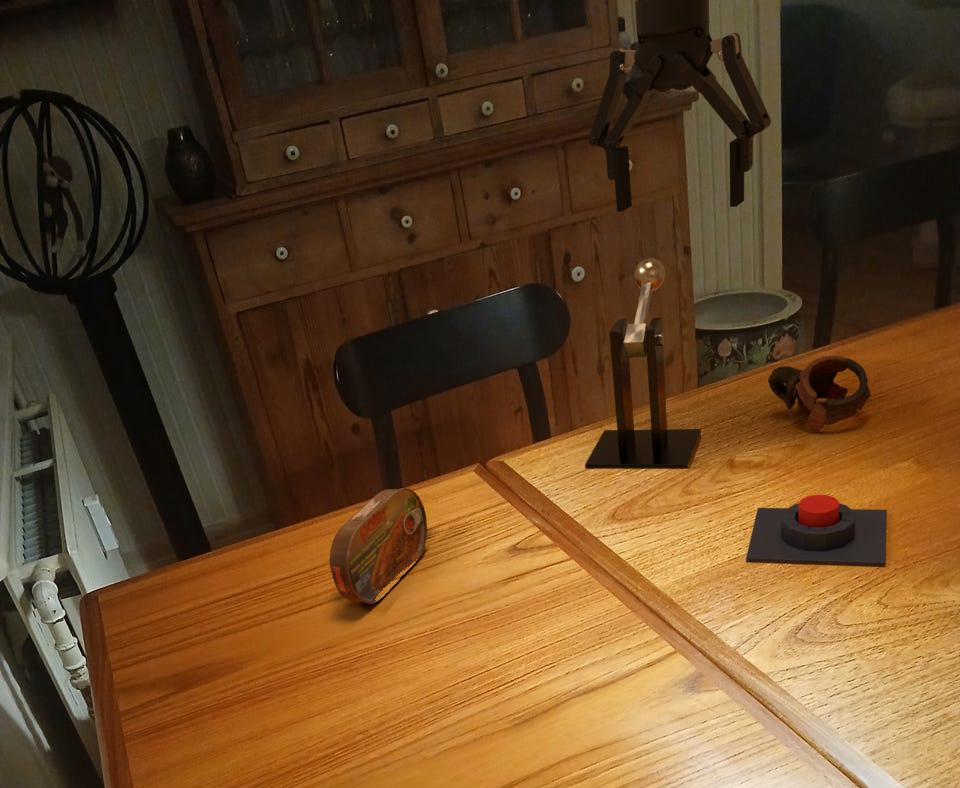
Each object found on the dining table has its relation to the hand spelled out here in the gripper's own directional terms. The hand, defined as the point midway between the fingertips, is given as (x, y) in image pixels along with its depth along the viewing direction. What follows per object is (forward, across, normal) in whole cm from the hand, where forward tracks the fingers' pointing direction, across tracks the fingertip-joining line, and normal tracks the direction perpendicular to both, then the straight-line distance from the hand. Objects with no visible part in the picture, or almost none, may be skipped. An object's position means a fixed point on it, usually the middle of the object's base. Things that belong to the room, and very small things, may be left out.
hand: (679, 206), depth 113 cm
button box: (+25, +24, -32) cm, 47 cm away
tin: (+25, -15, -47) cm, 56 cm away
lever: (+10, -1, -8) cm, 13 cm away
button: (+21, +24, -31) cm, 45 cm away
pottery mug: (+25, +16, +1) cm, 30 cm away
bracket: (+25, 0, -14) cm, 28 cm away
